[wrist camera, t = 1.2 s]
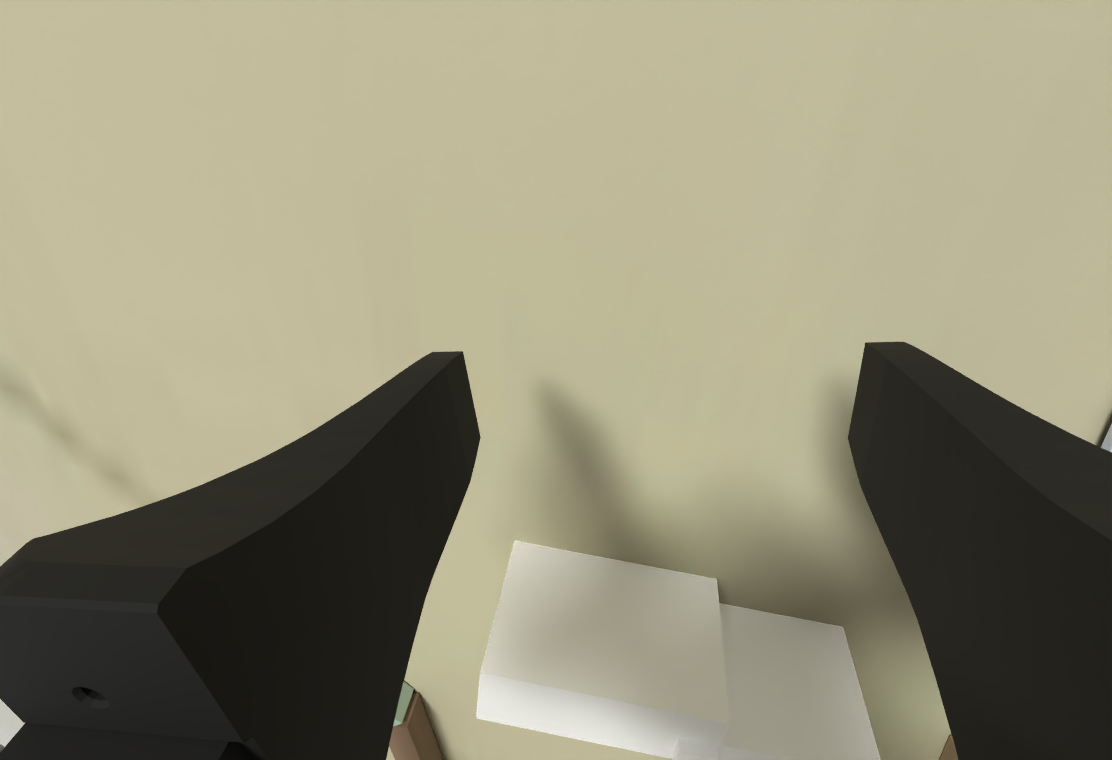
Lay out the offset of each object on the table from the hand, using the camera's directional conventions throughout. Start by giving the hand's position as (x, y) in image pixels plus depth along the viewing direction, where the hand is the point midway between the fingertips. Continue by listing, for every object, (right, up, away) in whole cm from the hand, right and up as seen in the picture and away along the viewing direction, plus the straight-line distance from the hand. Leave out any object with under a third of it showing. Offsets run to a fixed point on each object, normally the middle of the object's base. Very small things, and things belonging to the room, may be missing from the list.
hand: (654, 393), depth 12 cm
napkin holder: (+3, -8, +11) cm, 14 cm away
